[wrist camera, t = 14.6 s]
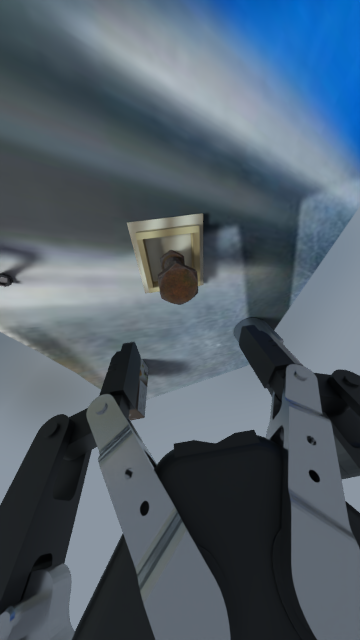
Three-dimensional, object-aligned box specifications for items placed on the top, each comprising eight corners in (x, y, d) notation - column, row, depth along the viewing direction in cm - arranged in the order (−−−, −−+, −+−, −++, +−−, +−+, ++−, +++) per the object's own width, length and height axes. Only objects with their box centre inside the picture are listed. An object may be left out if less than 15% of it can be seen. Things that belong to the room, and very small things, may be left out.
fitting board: (201, 213, 28) (208, 213, 24) (201, 282, 36) (206, 291, 32) (128, 222, 28) (123, 223, 24) (145, 290, 36) (144, 300, 32)
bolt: (175, 238, 29) (186, 255, 17) (188, 259, 31) (207, 288, 19) (152, 257, 30) (148, 285, 18) (167, 276, 33) (172, 311, 21)
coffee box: (142, 358, 50) (136, 408, 37) (148, 368, 54) (145, 417, 41) (117, 364, 50) (102, 416, 38) (125, 374, 54) (114, 424, 41)
